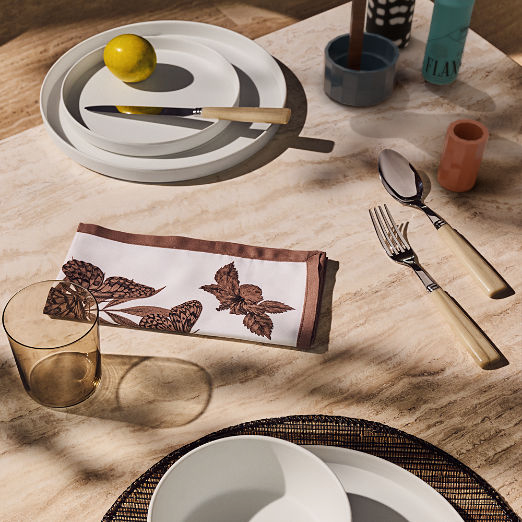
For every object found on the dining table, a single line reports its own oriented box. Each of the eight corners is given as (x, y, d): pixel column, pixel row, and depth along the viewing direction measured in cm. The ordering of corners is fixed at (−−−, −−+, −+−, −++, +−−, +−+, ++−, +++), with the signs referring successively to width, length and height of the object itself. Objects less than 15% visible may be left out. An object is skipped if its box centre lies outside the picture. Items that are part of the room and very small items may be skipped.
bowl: (388, 66, 122) (393, 30, 116) (398, 107, 114) (404, 71, 108) (320, 68, 122) (322, 33, 116) (325, 110, 114) (327, 74, 108)
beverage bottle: (415, 88, 117) (434, -25, 102) (423, 68, 121) (443, -44, 106) (453, 96, 115) (478, -18, 100) (460, 75, 119) (486, -38, 104)
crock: (470, 166, 104) (483, 118, 97) (478, 191, 100) (493, 143, 93) (433, 167, 104) (444, 119, 97) (440, 192, 100) (452, 144, 93)
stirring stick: (357, 75, 117) (370, -67, 99) (359, 82, 116) (372, -61, 98) (346, 76, 117) (357, -67, 99) (347, 82, 116) (358, -61, 98)
